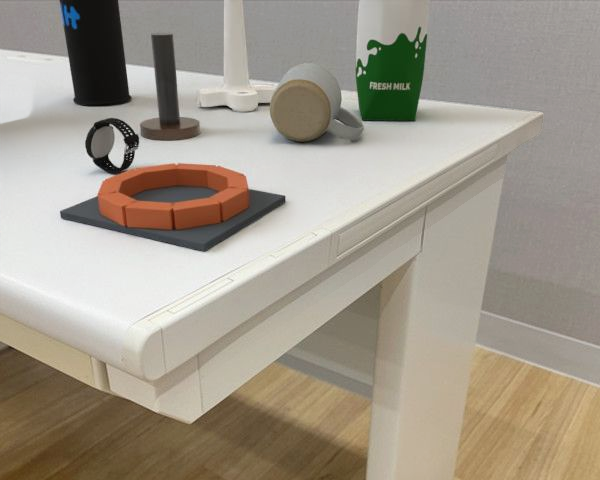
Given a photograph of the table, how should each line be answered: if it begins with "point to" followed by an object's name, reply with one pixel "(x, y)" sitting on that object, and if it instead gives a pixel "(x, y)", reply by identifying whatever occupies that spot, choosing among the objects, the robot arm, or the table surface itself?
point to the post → (167, 96)
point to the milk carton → (390, 57)
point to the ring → (180, 214)
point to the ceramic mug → (311, 106)
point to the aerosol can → (95, 51)
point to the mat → (187, 237)
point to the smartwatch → (110, 144)
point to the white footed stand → (235, 68)
